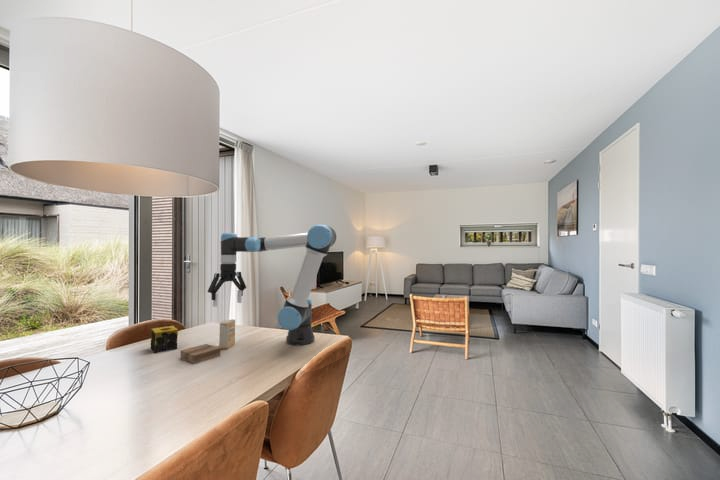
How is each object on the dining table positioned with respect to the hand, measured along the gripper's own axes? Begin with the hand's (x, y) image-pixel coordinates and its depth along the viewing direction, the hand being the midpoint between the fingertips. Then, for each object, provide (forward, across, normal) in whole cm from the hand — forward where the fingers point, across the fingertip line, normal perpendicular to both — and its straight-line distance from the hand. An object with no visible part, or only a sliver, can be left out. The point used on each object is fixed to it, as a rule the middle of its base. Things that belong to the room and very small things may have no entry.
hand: (227, 304), depth 159 cm
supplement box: (+22, 0, 0) cm, 22 cm away
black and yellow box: (+22, +20, -23) cm, 37 cm away
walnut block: (+22, +16, +4) cm, 27 cm away
